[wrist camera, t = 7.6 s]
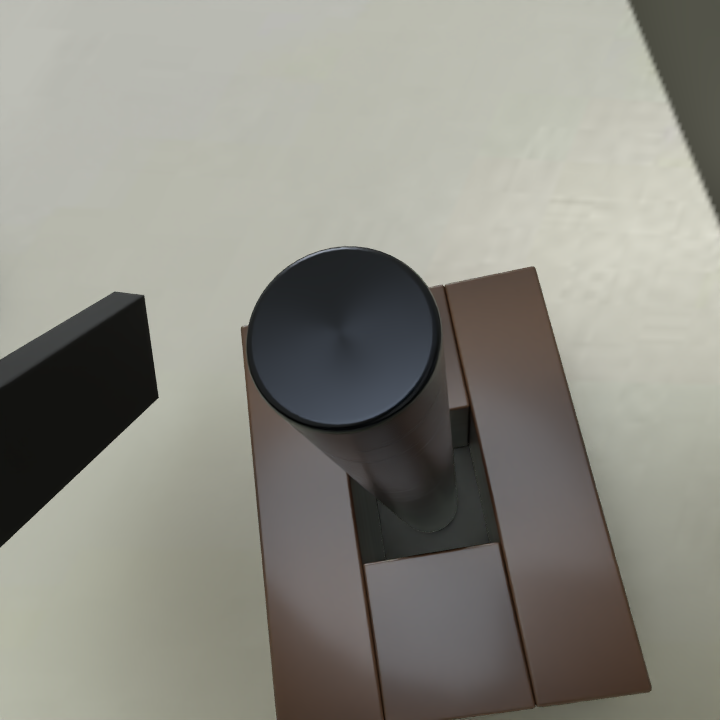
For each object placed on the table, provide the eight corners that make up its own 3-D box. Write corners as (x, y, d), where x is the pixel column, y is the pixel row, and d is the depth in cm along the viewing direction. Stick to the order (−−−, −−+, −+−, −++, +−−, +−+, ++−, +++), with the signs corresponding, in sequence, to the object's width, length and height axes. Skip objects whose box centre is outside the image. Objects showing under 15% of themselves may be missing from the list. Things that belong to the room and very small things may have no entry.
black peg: (449, 541, 19) (412, 456, 5) (393, 525, 20) (215, 404, 6) (463, 483, 20) (464, 261, 6) (408, 469, 20) (278, 227, 6)
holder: (603, 660, 18) (654, 692, 13) (325, 700, 18) (277, 743, 14) (519, 333, 21) (535, 264, 16) (288, 378, 22) (239, 325, 17)
